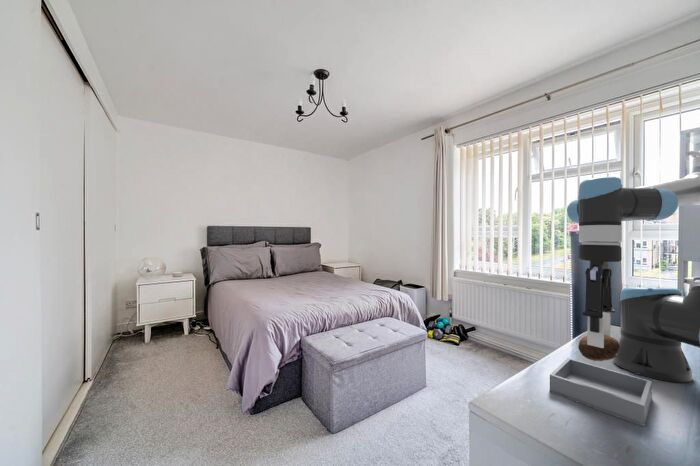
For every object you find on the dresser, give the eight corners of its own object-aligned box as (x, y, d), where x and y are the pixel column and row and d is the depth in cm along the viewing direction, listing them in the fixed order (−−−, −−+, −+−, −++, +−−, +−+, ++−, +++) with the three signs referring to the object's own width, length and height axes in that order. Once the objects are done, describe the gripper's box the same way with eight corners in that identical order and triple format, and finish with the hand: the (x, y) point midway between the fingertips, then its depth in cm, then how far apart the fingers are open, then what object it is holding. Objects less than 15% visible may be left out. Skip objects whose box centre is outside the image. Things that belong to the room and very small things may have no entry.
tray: (568, 372, 75) (568, 357, 75) (651, 398, 63) (651, 381, 63) (549, 391, 65) (549, 374, 65) (644, 426, 53) (644, 405, 53)
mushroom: (629, 346, 64) (610, 323, 65) (632, 370, 58) (612, 345, 59) (590, 352, 70) (573, 331, 70) (589, 375, 64) (571, 352, 65)
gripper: (588, 243, 74) (588, 329, 74) (567, 243, 62) (567, 347, 61) (627, 244, 68) (628, 338, 68) (613, 244, 56) (613, 358, 55)
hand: (599, 342), depth 64 cm, fingers closed on mushroom, 7 cm apart
